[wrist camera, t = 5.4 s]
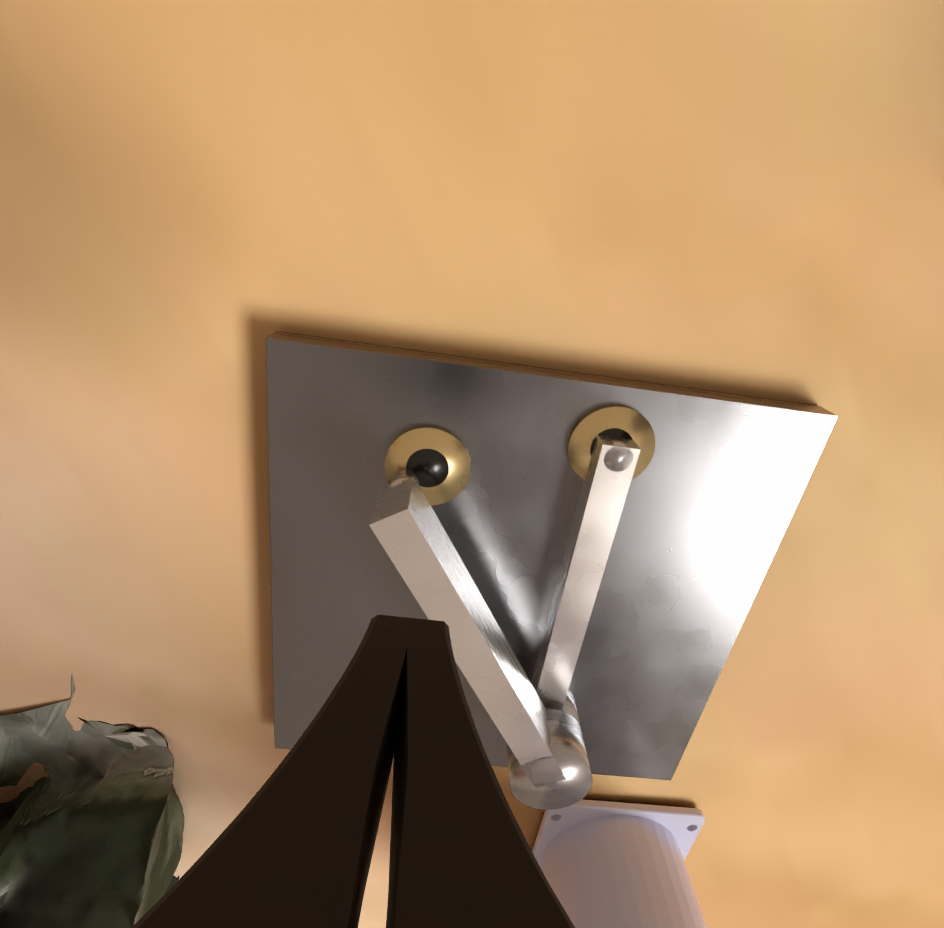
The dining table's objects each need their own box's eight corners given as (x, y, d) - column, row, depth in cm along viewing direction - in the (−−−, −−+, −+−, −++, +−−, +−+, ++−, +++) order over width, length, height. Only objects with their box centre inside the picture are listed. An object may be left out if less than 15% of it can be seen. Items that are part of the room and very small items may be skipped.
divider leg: (587, 729, 22) (603, 796, 20) (521, 750, 23) (528, 818, 20) (441, 452, 17) (437, 494, 14) (357, 488, 17) (339, 535, 15)
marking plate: (663, 760, 26) (678, 801, 24) (281, 727, 24) (266, 769, 22) (819, 406, 18) (859, 427, 16) (276, 331, 17) (253, 345, 15)
